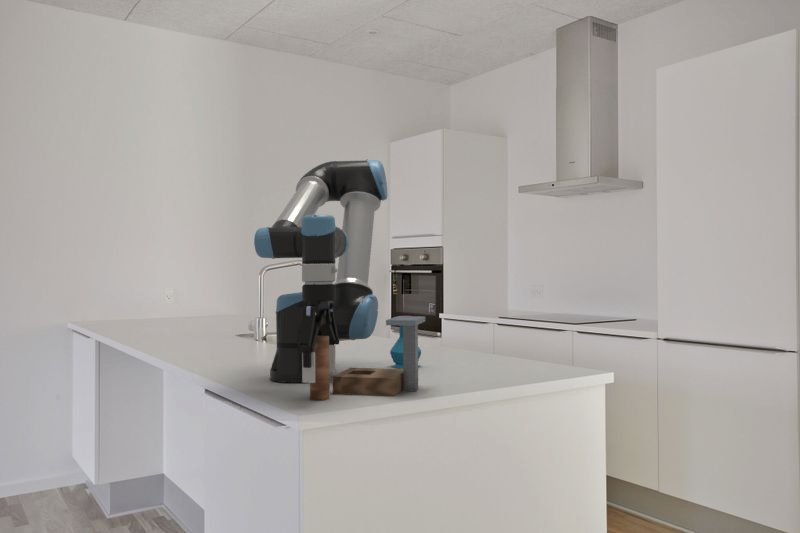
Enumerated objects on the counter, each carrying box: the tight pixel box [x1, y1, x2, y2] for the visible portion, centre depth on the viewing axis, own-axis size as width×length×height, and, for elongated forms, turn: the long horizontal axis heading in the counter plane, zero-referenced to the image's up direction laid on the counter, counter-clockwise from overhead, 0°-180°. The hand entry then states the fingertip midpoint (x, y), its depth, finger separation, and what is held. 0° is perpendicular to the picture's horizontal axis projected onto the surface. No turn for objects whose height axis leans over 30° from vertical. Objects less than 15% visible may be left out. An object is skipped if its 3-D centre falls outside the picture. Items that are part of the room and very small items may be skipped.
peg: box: [309, 336, 331, 401], centre depth 151 cm, size 4×4×14 cm
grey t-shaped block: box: [385, 315, 426, 392], centre depth 161 cm, size 7×12×17 cm, turn 167°
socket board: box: [332, 367, 403, 397], centre depth 162 cm, size 15×14×4 cm
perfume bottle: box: [389, 325, 422, 369], centre depth 198 cm, size 9×9×15 cm
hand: (319, 377), depth 151 cm, fingers open, 13 cm apart
